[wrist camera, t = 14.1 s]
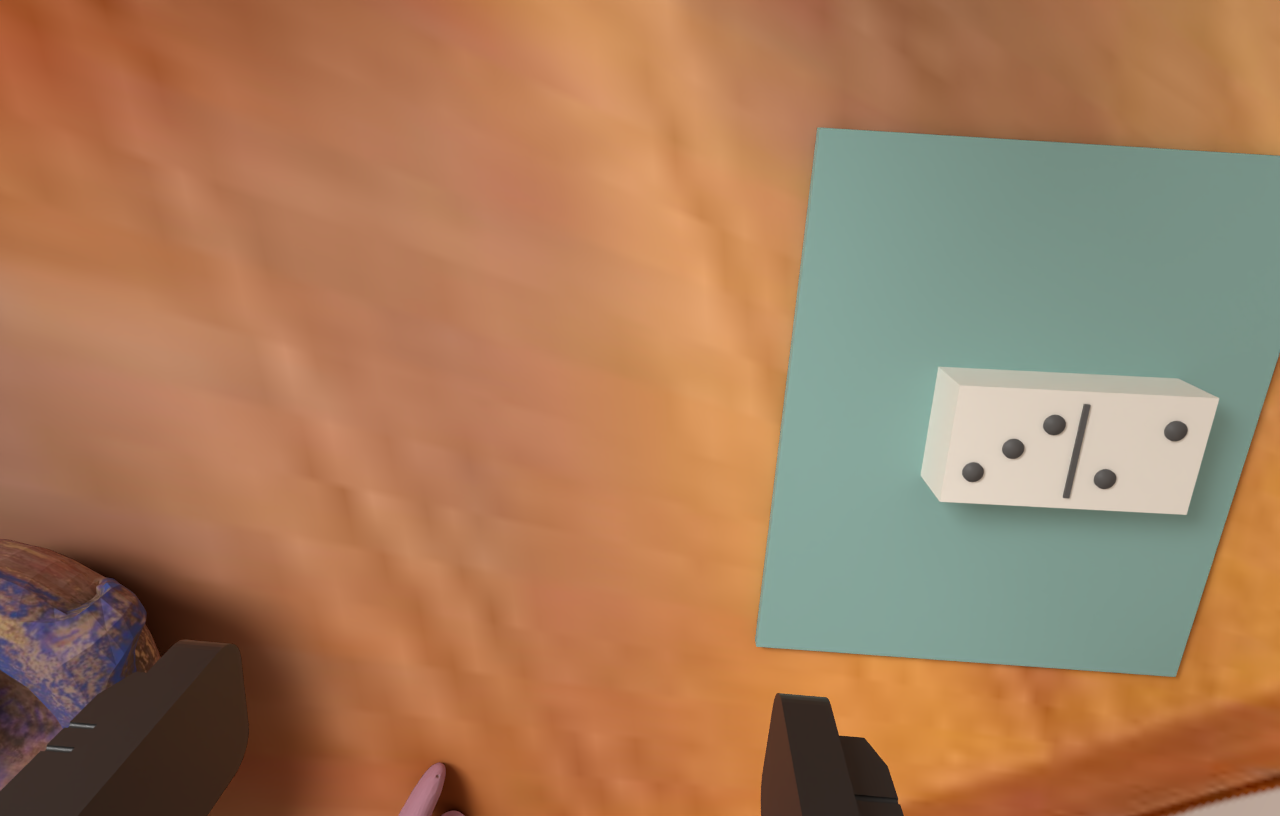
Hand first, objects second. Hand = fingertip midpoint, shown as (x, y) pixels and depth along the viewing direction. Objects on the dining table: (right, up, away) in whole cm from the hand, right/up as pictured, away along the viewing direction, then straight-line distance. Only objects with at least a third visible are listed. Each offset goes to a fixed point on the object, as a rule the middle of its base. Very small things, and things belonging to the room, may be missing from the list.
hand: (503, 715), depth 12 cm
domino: (+16, +3, +25) cm, 30 cm away
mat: (+20, +4, +27) cm, 34 cm away
